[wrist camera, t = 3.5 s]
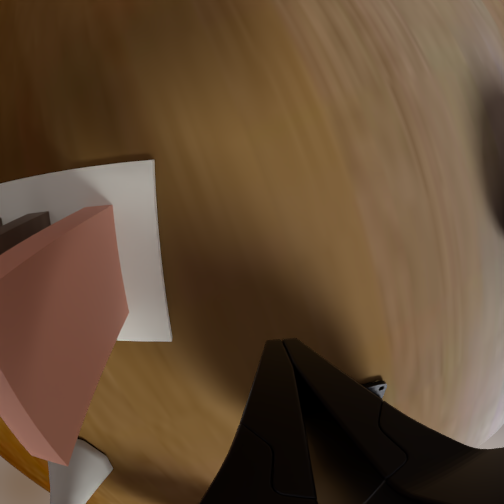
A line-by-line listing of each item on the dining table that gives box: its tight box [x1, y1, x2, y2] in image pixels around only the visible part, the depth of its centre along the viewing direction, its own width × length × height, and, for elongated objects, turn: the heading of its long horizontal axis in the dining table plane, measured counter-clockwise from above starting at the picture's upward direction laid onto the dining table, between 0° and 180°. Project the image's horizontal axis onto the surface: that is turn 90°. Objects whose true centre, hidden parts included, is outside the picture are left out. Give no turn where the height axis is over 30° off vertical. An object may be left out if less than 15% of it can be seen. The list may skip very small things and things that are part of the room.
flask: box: [48, 439, 113, 504], centre depth 16 cm, size 7×7×10 cm
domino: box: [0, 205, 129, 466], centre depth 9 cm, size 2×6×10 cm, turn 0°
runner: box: [0, 160, 173, 342], centre depth 13 cm, size 22×10×1 cm, turn 90°
